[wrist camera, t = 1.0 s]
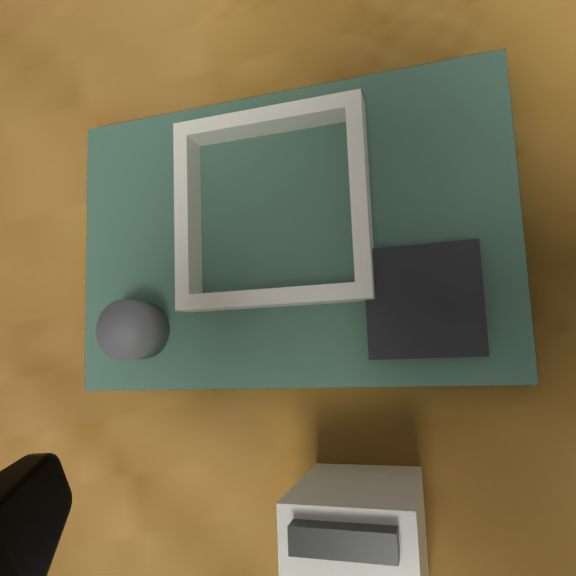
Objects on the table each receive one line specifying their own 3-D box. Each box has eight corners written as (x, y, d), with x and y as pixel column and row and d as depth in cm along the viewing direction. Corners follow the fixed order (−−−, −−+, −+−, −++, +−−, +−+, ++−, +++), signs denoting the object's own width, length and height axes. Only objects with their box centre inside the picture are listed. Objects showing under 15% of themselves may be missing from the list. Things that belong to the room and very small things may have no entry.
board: (533, 382, 17) (549, 389, 15) (99, 388, 22) (57, 394, 20) (501, 63, 19) (512, 20, 16) (101, 137, 24) (62, 114, 21)
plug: (429, 581, 18) (426, 686, 12) (321, 570, 19) (274, 663, 13) (421, 466, 18) (415, 519, 13) (316, 462, 19) (270, 510, 14)
